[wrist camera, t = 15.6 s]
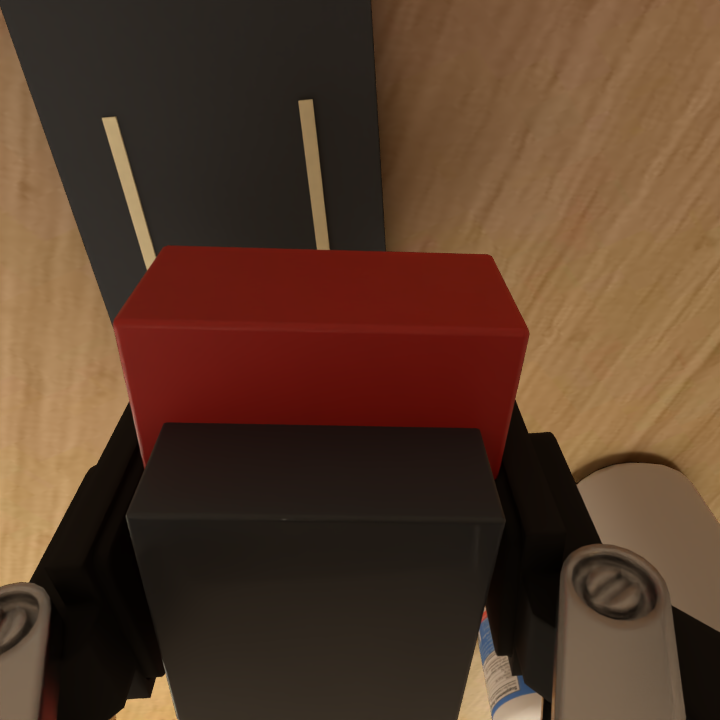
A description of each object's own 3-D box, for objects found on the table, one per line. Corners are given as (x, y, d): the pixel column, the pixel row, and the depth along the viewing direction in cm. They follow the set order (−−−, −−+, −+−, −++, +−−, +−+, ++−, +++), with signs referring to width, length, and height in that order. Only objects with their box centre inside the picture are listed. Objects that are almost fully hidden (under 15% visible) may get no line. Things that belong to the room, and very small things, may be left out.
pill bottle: (576, 604, 38) (637, 778, 30) (526, 648, 41) (570, 819, 32) (504, 580, 37) (549, 756, 28) (457, 627, 39) (486, 800, 31)
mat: (-10, -46, 19) (-21, -47, 18) (365, -83, 19) (365, -85, 18) (156, 434, 30) (152, 444, 29) (395, 418, 30) (396, 427, 29)
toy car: (482, 232, 10) (175, 223, 10) (575, 413, 6) (50, 403, 6) (433, 555, 14) (220, 552, 14) (466, 786, 10) (168, 786, 10)
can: (706, 449, 31) (877, 679, 21) (668, 545, 35) (796, 777, 25) (561, 452, 31) (663, 684, 21) (540, 548, 35) (617, 781, 25)
